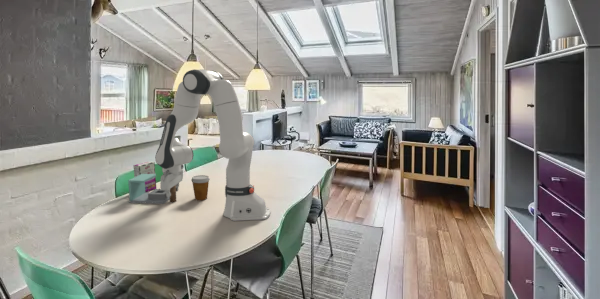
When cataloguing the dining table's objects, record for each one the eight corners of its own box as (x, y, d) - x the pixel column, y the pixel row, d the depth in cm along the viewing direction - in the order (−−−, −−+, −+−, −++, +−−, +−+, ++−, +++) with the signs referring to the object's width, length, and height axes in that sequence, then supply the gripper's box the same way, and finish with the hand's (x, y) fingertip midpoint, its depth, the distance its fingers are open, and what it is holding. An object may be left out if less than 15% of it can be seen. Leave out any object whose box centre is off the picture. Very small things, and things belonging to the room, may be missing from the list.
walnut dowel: (177, 200, 171) (176, 180, 169) (174, 202, 168) (173, 182, 166) (171, 200, 171) (170, 180, 169) (168, 202, 168) (167, 182, 166)
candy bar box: (150, 187, 193) (148, 161, 190) (156, 188, 191) (155, 162, 188) (134, 193, 182) (132, 164, 179) (141, 194, 180) (139, 165, 178)
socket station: (175, 195, 179) (174, 174, 177) (164, 203, 165) (162, 181, 163) (143, 194, 180) (142, 173, 178) (129, 202, 166) (128, 180, 164)
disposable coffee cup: (213, 197, 176) (213, 176, 174) (200, 202, 169) (199, 180, 167) (202, 194, 181) (201, 174, 180) (188, 199, 174) (187, 177, 172)
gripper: (169, 173, 156) (170, 200, 158) (184, 164, 176) (185, 188, 178) (156, 172, 156) (157, 200, 158) (173, 164, 176) (174, 188, 179)
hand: (172, 193), depth 169 cm, fingers open, 8 cm apart
